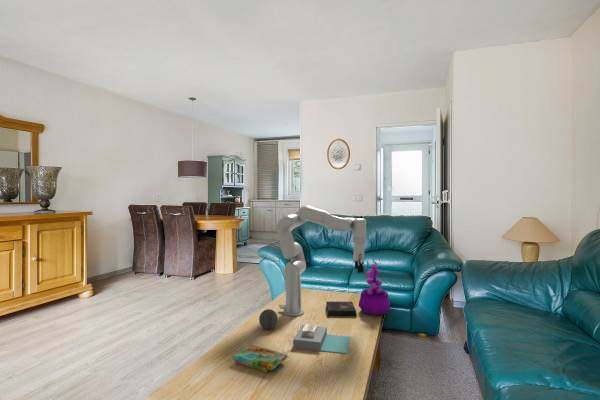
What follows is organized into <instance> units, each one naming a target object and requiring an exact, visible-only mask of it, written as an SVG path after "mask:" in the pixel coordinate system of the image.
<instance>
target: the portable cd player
mask: <svg viewBox="0 0 600 400" xmlns="http://www.w3.org/2000/svg"><path fill="white" fill-rule="evenodd" d="M325 306H326V313H327V317H339V318H340V317H341V318H344V317H345V318H346V317H350V318H351V317H353V318H354V317H357V316H358V314H357V310H356V308H355V305H354V302H353V301H326V304H325Z"/></svg>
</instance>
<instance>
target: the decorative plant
mask: <svg viewBox="0 0 600 400" xmlns="http://www.w3.org/2000/svg"><path fill="white" fill-rule="evenodd" d="M370 267H371V269H370V270H367V271H366V273H365V275H366V277H367V279H366V283H367V285H369V286H370V288H365V289H362V290H361V291H360V296H359V297H360V298H359V301H358V307H359V309H360V310H361V311H362V312H364V313H366V314H369V315H375V316H376V315H377V316H378V315H384V314H387V313H388V312H389V311H390V310H391V303H390V300H389V293H388V291H386V290H383V289H382V287H381V286H382V285H383V281H382V280H381V279H377V275H379V273H380V272H379V267H378V264H376V263H372V264H371V266H370Z"/></svg>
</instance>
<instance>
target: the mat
mask: <svg viewBox="0 0 600 400" xmlns="http://www.w3.org/2000/svg"><path fill="white" fill-rule="evenodd" d="M350 341H351V336H348V335H338V334H331V333H330V334H328V333H327V335H326V338H325V340H324V343H323V345H322V348H321V351H320V352H327V353H334V354H343V355H347V354H348V349H349V347H350V346H349V345H350Z"/></svg>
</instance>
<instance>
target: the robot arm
mask: <svg viewBox="0 0 600 400" xmlns="http://www.w3.org/2000/svg"><path fill="white" fill-rule="evenodd" d="M307 222H311V223H314V224H317V225H320V226H322V227H326V228H329V229H330V230H335V231H337V232H340V233H341V232H342V233H346V232H348V231H349V232H350V231H352V243H353V253H352V254H353V256H352V257H353V258H352V259H353V260H354V269H357V273H359V274H363V273H364V261H365V244H367V219H366V218H360V217H358V218H354V217H339V216H336V215H333V214H330V213H329V212H328V211H326V210H324V209H320V208H316V207H314V206H313V205H309V204H308V205H303V206H300V207H299V209H298V211H296V212H295V213H291V214H286V215H283V216H282V217H281V218H280V219H279V220H278V222H276V223H277V224H276V233H277V237H278V241H279V245H280V249H281V252H282V257H283V258H284V259H286V260H290V261H288V263H286V265H285V266H284V279H285V303H284V304H279V306H278V308H279V310H280V309H281V310H282V313H283V315H286V316H288V317H297V316H299V317H300V316H301V315H303V314H304V313H305V310H304V308H302V280H301V274H303V273H304V272H305V271H306V268H307V262H306V259H305V255H304V251H303V247H302V246H301V244H300V243H299V242H296V241H294V237H293V234H292V232H291V229H294V228H298V227H300V226H301V225H304V224H305V223H307Z"/></svg>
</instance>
